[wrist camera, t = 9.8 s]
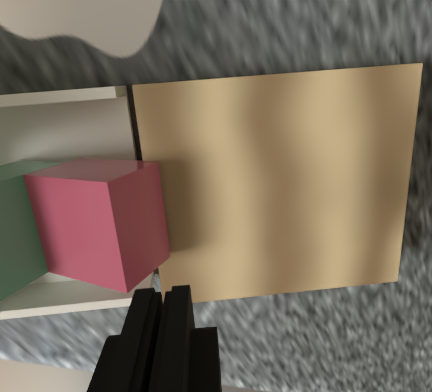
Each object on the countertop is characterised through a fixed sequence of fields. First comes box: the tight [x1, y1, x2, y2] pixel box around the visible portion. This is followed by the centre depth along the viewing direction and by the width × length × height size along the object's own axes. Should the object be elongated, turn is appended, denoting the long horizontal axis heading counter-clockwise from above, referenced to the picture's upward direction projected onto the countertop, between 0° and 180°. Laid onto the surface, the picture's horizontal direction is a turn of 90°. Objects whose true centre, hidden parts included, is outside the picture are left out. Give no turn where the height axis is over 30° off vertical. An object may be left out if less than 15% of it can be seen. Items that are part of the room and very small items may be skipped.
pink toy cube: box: [23, 158, 170, 293], centre depth 20 cm, size 6×6×4 cm
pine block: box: [132, 63, 423, 303], centre depth 23 cm, size 16×14×4 cm
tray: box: [0, 85, 154, 319], centre depth 22 cm, size 11×14×4 cm
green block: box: [0, 160, 62, 301], centre depth 20 cm, size 6×6×4 cm
